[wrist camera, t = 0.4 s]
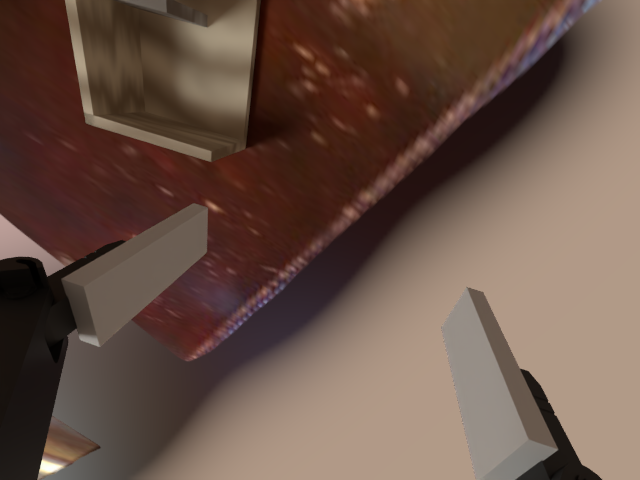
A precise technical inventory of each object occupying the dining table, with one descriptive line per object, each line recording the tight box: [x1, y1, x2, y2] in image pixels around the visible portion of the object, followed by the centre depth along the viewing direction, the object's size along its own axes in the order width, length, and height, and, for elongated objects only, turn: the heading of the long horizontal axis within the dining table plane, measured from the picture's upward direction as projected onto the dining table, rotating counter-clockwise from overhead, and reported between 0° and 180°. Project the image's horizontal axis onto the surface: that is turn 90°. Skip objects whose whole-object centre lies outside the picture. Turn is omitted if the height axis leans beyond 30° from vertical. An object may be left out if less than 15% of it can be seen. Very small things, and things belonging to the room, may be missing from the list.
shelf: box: [65, 0, 261, 162], centre depth 31 cm, size 20×16×9 cm
